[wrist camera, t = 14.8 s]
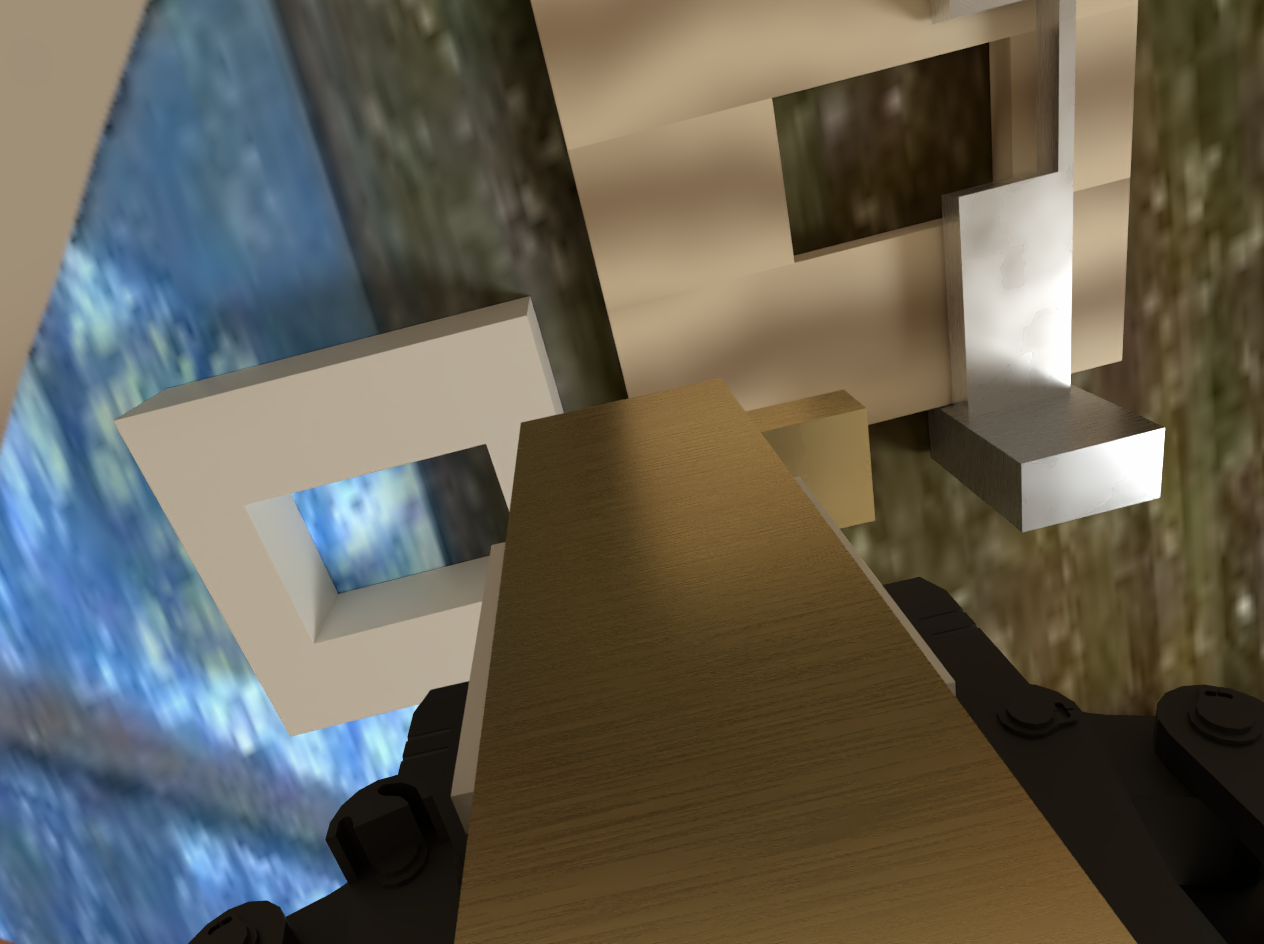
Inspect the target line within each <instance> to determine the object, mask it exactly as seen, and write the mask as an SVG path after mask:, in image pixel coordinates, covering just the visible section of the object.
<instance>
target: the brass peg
mask: <svg viewBox="0 0 1264 944" xmlns="http://www.w3.org/2000/svg"><path fill="white" fill-rule="evenodd" d="M796 476H800V477H801V479H802V480H803V481H804V483H805V484H806V485H807V487H808V488H809V489H810V491H811V492H812V493H813V495H814V496H815V497H816V498H817V500H818V501H819V502H820V504H821V505H822V506H823V508H824V509H825V510H826V512H827V513H828V514H829V516H830V517H831V518H832V520H833V521H834V522H835V524H836V525H837V526H838V528H839V529H840V528H844V527H848V526H853V525H857V524H862V523H866V522H871V521H875V512H874V499H873V486H872V473H871V460H870V447H869V434H868V421H867V408H866V407H864V406H863V405H862V404H861V403H860V402H858V401H857V400H856V399H855V398H854V397H852V396H851V395H850V394H849V393H847V392H846V391H845V390H844V389H843V390H839V391H834V392H830V393H825V394H821V395H816V396H812V397H807V398H803V399H798V400H794V401H790V402H785V403H781V404H776V405H772V406H767V407H763V408H758V409H754V410H749V411H745V410H744V409H743V408H742V406H741V405H740V403H739V402H738V401H737V399H736V398H735V397H734V395H733V394H732V393H731V391H730V390H729V389H728V387H727V386H726V384H725V383H724V382H723V380H722V379H721V378H718V379H713V380H709V381H704V382H700V383H695V384H691V385H686V386H682V387H678V388H673V389H669V390H664V391H660V392H655V393H651V394H646V395H642V396H637V397H633V398H629V399H624V400H620V401H615V402H611V403H606V404H602V405H597V406H593V407H588V408H584V409H579V410H575V411H571V412H566V413H562V414H557V415H553V416H548V417H544V418H539V419H535V420H530V421H526V422H522V423H521V425H520V433H519V441H518V449H517V457H516V464H515V472H514V480H513V488H512V496H511V503H510V511H509V519H508V527H507V535H506V542H505V550H504V558H503V566H502V574H501V581H500V589H499V597H498V605H497V613H496V621H495V628H494V636H493V644H492V652H491V660H490V667H489V675H488V683H487V691H486V699H485V706H484V714H483V722H482V730H481V738H480V745H479V753H478V761H477V769H476V777H475V785H474V792H473V800H472V808H471V816H470V824H469V831H468V839H467V847H466V855H465V863H464V870H463V878H462V886H461V894H460V902H459V909H458V917H457V925H456V933H455V941H454V944H1137V943H1136V941H1135V940H1134V938H1133V937H1132V936H1131V934H1130V933H1129V932H1128V930H1127V929H1126V928H1125V926H1124V925H1123V924H1122V922H1121V921H1120V919H1119V918H1118V917H1117V915H1116V914H1115V913H1114V911H1113V910H1112V909H1111V907H1110V906H1109V905H1108V903H1107V902H1106V900H1105V899H1104V898H1103V896H1102V895H1101V894H1100V892H1099V891H1098V890H1097V888H1096V887H1095V886H1094V884H1093V883H1092V881H1091V880H1090V879H1089V877H1088V876H1087V875H1086V873H1085V872H1084V871H1083V869H1082V868H1081V867H1080V865H1079V864H1078V862H1077V861H1076V860H1075V858H1074V857H1073V856H1072V854H1071V853H1070V852H1069V850H1068V849H1067V847H1066V846H1065V845H1064V843H1063V842H1062V841H1061V839H1060V838H1059V837H1058V835H1057V834H1056V833H1055V831H1054V830H1053V828H1052V827H1051V826H1050V824H1049V823H1048V822H1047V820H1046V819H1045V818H1044V816H1043V815H1042V814H1041V812H1040V811H1039V809H1038V808H1037V807H1036V805H1035V804H1034V803H1033V801H1032V800H1031V799H1030V797H1029V796H1028V795H1027V793H1026V792H1025V790H1024V789H1023V788H1022V786H1021V785H1020V784H1019V782H1018V781H1017V780H1016V778H1015V777H1014V776H1013V774H1012V773H1011V771H1010V770H1009V769H1008V767H1007V766H1006V765H1005V763H1004V762H1003V761H1002V759H1001V758H1000V757H999V755H998V754H997V752H996V751H995V750H994V748H993V747H992V746H991V744H990V743H989V742H988V740H987V739H986V738H985V736H984V735H983V733H982V732H981V731H980V729H979V728H978V727H977V725H976V724H975V723H974V721H973V720H972V718H971V717H970V716H969V714H968V713H967V712H966V710H965V709H964V708H963V706H962V705H961V704H960V702H959V701H958V699H957V698H956V697H955V695H954V694H953V693H952V691H951V690H950V689H949V687H948V686H947V685H946V683H945V682H944V680H943V679H942V678H941V676H940V675H939V674H938V672H937V671H936V670H935V668H934V667H933V666H932V664H931V663H930V661H929V660H928V659H927V657H926V656H925V655H924V653H923V652H922V651H921V649H920V648H919V647H918V645H917V644H916V642H915V641H914V640H913V638H912V637H911V636H910V634H909V633H908V632H907V630H906V629H905V628H904V626H903V625H902V623H901V622H900V621H899V619H898V618H897V617H896V615H895V614H894V613H893V611H892V610H891V609H890V607H889V606H888V604H887V603H886V602H885V600H884V599H883V598H882V596H881V595H880V594H879V592H878V591H877V589H876V588H875V587H874V585H873V584H872V583H871V581H870V580H869V579H868V577H867V576H866V575H865V573H864V572H863V570H862V569H861V568H860V566H859V565H858V564H857V562H856V561H855V560H854V558H853V557H852V556H851V554H850V553H849V551H848V550H847V549H846V547H845V546H844V545H843V543H842V542H841V541H840V539H839V538H838V537H837V535H836V534H835V532H834V531H833V530H832V528H831V527H830V526H829V524H828V523H827V522H826V520H825V519H824V518H823V516H822V515H821V513H820V512H819V511H818V509H817V508H816V507H815V505H814V504H813V503H812V501H811V500H810V499H809V497H808V496H807V494H806V493H805V492H804V490H803V489H802V488H801V486H800V485H799V484H798V482H797V481H796V480H795V478H794V477H796Z"/></svg>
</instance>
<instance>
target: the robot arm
mask: <svg viewBox="0 0 1264 944" xmlns="http://www.w3.org/2000/svg"><path fill="white" fill-rule="evenodd" d="M794 478H795V480H796V481H797V482H798V484H799V485H800V486H801V488H802V489H803V490H804V492H805V493H806V494H807V496H808V497H809V499H810V500H811V501H812V503H813V504H814V505H815V507H816V508H817V509H818V511H819V512H820V513H821V515H822V516H823V518H824V519H825V520H826V522H827V523H828V524H829V526H830V527H831V528H832V530H833V531H834V532H835V534H836V535H837V537H838V538H839V539H840V541H841V542H842V543H843V545H844V546H845V547H846V549H847V550H848V551H849V553H850V554H851V556H852V557H853V558H854V560H855V561H856V562H857V564H858V565H859V566H860V568H861V569H862V570H863V572H864V573H865V575H866V576H867V577H868V579H869V580H870V581H871V583H872V584H873V585H874V587H875V588H876V589H877V591H878V592H879V594H880V595H881V596H882V598H883V599H884V600H885V602H886V603H887V604H888V606H889V607H890V609H891V610H892V611H893V613H894V614H895V615H896V617H897V618H898V619H899V621H900V622H901V623H902V625H903V626H904V628H905V629H906V630H907V632H908V633H909V634H910V636H911V637H912V638H913V640H914V641H915V642H916V644H917V645H918V647H919V648H920V649H921V651H922V652H923V653H924V655H925V656H926V657H927V659H928V660H929V661H930V663H931V664H932V666H933V667H934V668H935V670H936V671H937V672H938V674H939V675H940V676H941V678H942V679H943V680H944V682H945V683H946V685H947V686H948V687H949V689H950V690H951V691H952V693H953V694H954V695H955V697H956V698H957V699H958V701H959V702H960V704H961V705H962V706H963V708H964V709H965V710H966V712H967V713H968V714H969V716H970V717H971V718H972V720H973V721H974V723H975V724H976V725H977V727H978V728H979V729H980V731H981V732H982V733H983V735H984V736H985V738H986V739H987V740H988V742H989V743H990V744H991V746H992V747H993V748H994V750H995V751H996V752H997V754H998V755H999V757H1000V758H1001V759H1002V761H1003V762H1004V763H1005V765H1006V766H1007V767H1008V769H1009V770H1010V771H1011V773H1012V774H1013V776H1014V777H1015V778H1016V780H1017V781H1018V782H1019V784H1020V785H1021V786H1022V788H1023V789H1024V790H1025V792H1026V793H1027V795H1028V796H1029V797H1030V799H1031V800H1032V801H1033V803H1034V804H1035V805H1036V807H1037V808H1038V809H1039V811H1040V812H1041V814H1042V815H1043V816H1044V818H1045V819H1046V820H1047V822H1048V823H1049V824H1050V826H1051V827H1052V828H1053V830H1054V831H1055V833H1056V834H1057V835H1058V837H1059V838H1060V839H1061V841H1062V842H1063V843H1064V845H1065V846H1066V847H1067V849H1068V850H1069V852H1070V853H1071V854H1072V856H1073V857H1074V858H1075V860H1076V861H1077V862H1078V864H1079V865H1080V867H1081V868H1082V869H1083V871H1084V872H1085V873H1086V875H1087V876H1088V877H1089V879H1090V880H1091V881H1092V883H1093V884H1094V886H1095V887H1096V888H1097V890H1098V891H1099V892H1100V894H1101V895H1102V896H1103V898H1104V899H1105V900H1106V902H1107V903H1108V905H1109V906H1110V907H1111V909H1112V910H1113V911H1114V913H1115V914H1116V915H1117V917H1118V918H1119V919H1120V921H1121V922H1122V924H1123V925H1124V926H1125V928H1126V929H1127V930H1128V932H1129V933H1130V934H1131V936H1132V937H1133V938H1134V940H1135V941H1136V943H1137V944H1264V703H1263V702H1262V701H1260V700H1258V699H1257V698H1255V697H1252V696H1249V695H1247V694H1244V693H1241V692H1238V691H1235V690H1232V689H1229V688H1223V687H1216V686H1209V685H1193V686H1181V687H1179V688H1177V689H1174V690H1172V691H1169V692H1167V693H1165V694H1164V696H1163V697H1162V698H1161V700H1160V701H1159V702H1158V704H1157V710H1156V716H1126V715H1102V714H1092V713H1086V712H1082V711H1081V710H1080V708H1079V707H1078V706H1077V705H1076V704H1075V702H1073V701H1071V700H1070V699H1068V698H1067V697H1065V696H1063V695H1062V694H1060V693H1058V692H1057V691H1054V690H1050V689H1047V688H1044V687H1041V686H1038V685H1031V684H1029V683H1028V682H1027V681H1026V680H1025V678H1024V677H1023V676H1022V675H1021V674H1020V673H1019V672H1018V671H1017V669H1016V668H1015V667H1014V666H1013V665H1012V664H1011V663H1010V662H1009V661H1008V659H1007V658H1006V657H1005V656H1004V655H1003V654H1002V653H1001V652H1000V650H999V649H998V648H997V647H996V646H995V645H994V644H993V643H992V641H991V640H990V639H989V638H988V637H987V636H986V635H985V634H984V633H983V631H982V630H981V629H980V628H977V626H976V624H975V622H974V621H973V620H972V619H971V618H970V617H969V616H968V615H967V614H966V613H963V610H962V608H961V607H960V606H959V605H958V603H957V602H956V601H955V600H954V599H953V598H952V597H951V596H950V594H949V593H948V592H947V591H946V590H944V589H942V588H940V587H938V586H936V585H934V584H933V583H931V582H929V581H927V580H925V579H923V578H921V577H917V578H913V579H908V580H904V581H899V582H895V583H891V584H886V585H882V584H881V583H880V582H879V580H878V579H877V578H876V576H875V575H874V574H873V572H872V571H871V570H870V569H869V567H868V566H867V565H866V563H865V562H864V561H863V559H862V558H861V557H860V555H859V554H858V553H857V551H856V550H855V549H854V547H853V546H852V545H851V543H850V542H849V541H848V539H847V538H846V537H845V535H844V534H843V533H842V532H841V530H840V529H839V528H838V526H837V525H836V524H835V522H834V521H833V520H832V518H831V517H830V516H829V514H828V513H827V512H826V510H825V509H824V508H823V506H822V505H821V504H820V502H819V501H818V500H817V498H816V497H815V496H814V495H813V493H812V492H811V491H810V489H809V488H808V487H807V485H806V484H805V483H804V481H803V480H802V479H801V477H800V476H796V477H794ZM504 550H505V542H503V543H499V544H494V545H491V551H490V557H489V563H488V569H487V575H486V582H485V588H484V594H483V600H482V606H481V612H480V618H479V625H478V631H477V637H476V643H475V649H474V655H473V662H472V668H471V674H470V680H469V681H467V682H462V683H458V684H454V685H449V686H445V687H440V688H436V689H432V690H430V691H429V692H428V694H427V695H426V697H425V698H424V699H423V701H422V702H421V703H420V705H419V706H418V708H417V709H416V710H415V712H414V713H413V717H412V721H411V725H410V729H409V733H408V741H407V742H406V745H405V749H404V753H403V761H402V762H401V764H400V768H399V772H398V775H395V776H392V777H388V778H384V779H381V780H377V781H375V782H374V783H372V784H370V785H368V786H366V787H365V788H363V789H361V790H359V791H358V792H357V793H355V794H354V795H353V796H352V797H351V798H350V799H349V800H348V801H346V802H345V803H344V804H343V805H342V806H341V807H340V809H339V810H338V812H337V813H336V815H335V816H334V818H333V819H332V821H331V822H330V825H329V828H328V832H327V836H326V839H325V840H326V842H327V844H328V846H329V847H330V849H331V851H332V853H333V855H334V857H335V859H336V861H337V863H338V865H339V867H340V868H341V870H342V872H343V874H344V876H345V878H346V880H347V883H346V884H345V885H344V886H342V887H341V888H339V889H337V890H336V891H334V892H332V893H331V894H329V895H327V896H325V897H324V898H322V899H320V900H318V901H316V902H314V903H312V904H310V905H308V906H306V907H304V908H302V909H300V910H298V911H296V912H294V913H292V914H291V915H289V916H287V917H285V915H284V913H283V912H282V910H281V908H280V907H279V906H277V905H275V904H273V903H271V902H269V901H252V902H247V903H244V904H242V905H239V906H237V907H234V908H232V909H229V910H227V911H226V912H224V913H223V914H221V915H220V916H218V917H217V918H216V919H214V920H213V921H211V922H210V923H208V924H207V925H206V926H205V927H204V928H203V929H202V930H201V931H200V932H199V933H198V934H197V935H196V936H195V937H194V938H193V939H192V940H191V941H190V942H189V943H188V944H454V941H455V933H456V925H457V917H458V909H459V902H460V894H461V886H462V878H463V870H464V863H465V855H466V847H467V839H468V831H469V824H470V816H471V808H472V800H473V792H474V785H475V777H476V769H477V761H478V753H479V745H480V738H481V730H482V722H483V714H484V706H485V699H486V691H487V683H488V675H489V667H490V660H491V652H492V644H493V636H494V628H495V621H496V613H497V605H498V597H499V589H500V581H501V574H502V566H503V558H504Z"/></svg>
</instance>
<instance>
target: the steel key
mask: <svg viewBox="0 0 1264 944" xmlns="http://www.w3.org/2000/svg"><path fill="white" fill-rule="evenodd" d="M1023 1H1026V0H931V17H932V25H933V24H937V23H941V22H945V21H949V20H952V19H956V18H960V17H964V16H968V15H972V14H976V13H980V12H984V11H987V10H991V9H995V8H999V7H1003V6H1007V5H1011V4H1015V3H1019V2H1023ZM1075 48H1076V0H1036V154H1037V171H1034V172H1030V173H1026V174H1022V175H1018V176H1014V177H1010V178H1006V179H1002V180H998V181H995V182H991V183H987V184H983V185H979V186H975V187H971V188H967V189H963V190H959V191H955V192H951V193H948V194H944V195H941V199H942V217H943V235H944V254H945V272H946V290H947V308H948V326H949V345H950V363H951V381H952V399H953V404H949V405H945V406H941V407H937V408H933V409H929V410H928V424H929V438H930V452H931V458H932V459H934V460H935V461H936V462H937V463H938V464H940V465H941V466H942V467H943V468H944V469H946V470H947V471H948V472H949V473H951V474H952V475H953V476H954V477H955V478H957V479H958V480H959V481H960V482H962V483H963V484H964V485H965V486H966V487H968V488H969V489H970V490H971V491H973V492H974V493H975V494H976V495H977V496H979V497H980V498H981V499H982V500H983V501H985V502H986V503H987V504H988V505H990V506H991V507H992V508H993V509H994V510H996V511H997V512H998V513H999V514H1001V515H1002V516H1003V517H1004V518H1005V519H1007V520H1008V521H1009V522H1010V523H1012V524H1013V525H1014V526H1015V527H1016V528H1018V529H1019V530H1020V531H1021V532H1026V531H1030V530H1034V529H1038V528H1042V527H1046V526H1050V525H1054V524H1058V523H1062V522H1066V521H1070V520H1073V519H1077V518H1081V517H1085V516H1089V515H1093V514H1097V513H1101V512H1105V511H1109V510H1113V509H1117V508H1121V507H1125V506H1129V505H1133V504H1137V503H1141V502H1145V501H1149V500H1153V499H1157V498H1160V491H1161V477H1162V464H1163V450H1164V436H1165V427H1163V426H1161V425H1159V424H1156V423H1154V422H1152V421H1150V420H1148V419H1145V418H1143V417H1141V416H1139V415H1137V414H1134V413H1132V412H1130V411H1128V410H1126V409H1124V408H1121V407H1119V406H1117V405H1115V404H1113V403H1110V402H1108V401H1106V400H1104V399H1102V398H1099V397H1097V396H1095V395H1093V394H1091V393H1088V392H1086V391H1084V390H1082V389H1080V388H1078V387H1075V386H1073V385H1071V384H1070V380H1071V314H1072V247H1073V181H1074V114H1075Z"/></svg>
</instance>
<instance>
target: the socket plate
mask: <svg viewBox="0 0 1264 944" xmlns="http://www.w3.org/2000/svg"><path fill="white" fill-rule="evenodd" d="M530 2H531V6H532V10H533V14H534V18H535V22H536V26H537V30H538V34H539V38H540V42H541V47H542V51H543V55H544V59H545V63H546V67H547V71H548V75H549V79H550V83H551V87H552V91H553V95H554V99H555V103H556V107H557V111H558V115H559V119H560V123H561V127H562V131H563V135H564V139H565V143H566V148H567V152H568V156H569V160H570V164H571V168H572V172H573V176H574V180H575V184H576V188H577V192H578V196H579V200H580V204H581V208H582V212H583V216H584V220H585V224H586V228H587V232H588V236H589V240H590V244H591V249H592V253H593V257H594V261H595V265H596V269H597V273H598V277H599V281H600V285H601V289H602V293H603V297H604V301H605V305H606V309H607V313H608V317H609V321H610V325H611V329H612V333H613V337H614V341H615V346H616V350H617V354H618V358H619V362H620V366H621V370H622V374H623V378H624V382H625V386H626V390H627V394H628V398H633V397H637V396H642V395H646V394H651V393H655V392H660V391H664V390H669V389H673V388H678V387H682V386H686V385H691V384H695V383H700V382H704V381H709V380H713V379H718V378H721V379H722V380H723V382H724V383H725V384H726V386H727V387H728V389H729V390H730V391H731V393H732V394H733V395H734V397H735V398H736V399H737V401H738V402H739V403H740V405H741V406H742V408H743V409H744V410H745V411H749V410H754V409H758V408H763V407H767V406H772V405H776V404H781V403H785V402H790V401H794V400H798V399H803V398H807V397H812V396H816V395H821V394H825V393H830V392H834V391H839V390H843V389H844V390H845V391H846V392H847V393H849V394H850V395H851V396H852V397H854V398H855V399H856V400H857V401H858V402H860V403H861V404H862V405H863V406H864V407H866V408H867V421H868V425H870V424H874V423H878V422H882V421H886V420H890V419H894V418H897V417H901V416H905V415H909V414H913V413H917V412H921V411H925V410H929V409H933V408H937V407H941V406H945V405H949V404H953V399H952V381H951V363H950V345H949V326H948V308H947V290H946V272H945V254H944V235H943V218H940V219H936V220H932V221H928V222H924V223H920V224H916V225H912V226H908V227H904V228H900V229H897V230H893V231H889V232H885V233H881V234H877V235H873V236H869V237H865V238H861V239H857V240H853V241H849V242H846V243H842V244H838V245H834V246H830V247H826V248H822V249H818V250H814V251H810V252H806V253H802V254H799V255H795V256H794V255H793V248H792V241H791V233H790V226H789V219H788V211H787V204H786V197H785V190H784V182H783V175H782V168H781V161H780V153H779V146H778V139H777V132H776V124H775V117H774V110H773V103H772V98H773V97H777V96H781V95H785V94H789V93H793V92H797V91H801V90H805V89H809V88H812V87H816V86H820V85H824V84H828V83H832V82H836V81H840V80H844V79H848V78H851V77H855V76H859V75H863V74H867V73H871V72H875V71H879V70H883V69H886V68H890V67H894V66H898V65H902V64H906V63H910V62H914V61H918V60H922V59H925V58H929V57H933V56H937V55H941V54H945V53H949V52H953V51H957V50H961V49H964V48H968V47H972V46H976V45H980V44H984V43H988V42H989V59H990V95H991V132H992V168H993V182H995V181H998V180H1002V179H1006V178H1010V177H1014V176H1018V175H1022V174H1026V173H1030V172H1034V171H1037V154H1036V0H1026V1H1023V2H1019V3H1015V4H1011V5H1007V6H1003V7H999V8H995V9H991V10H987V11H984V12H980V13H976V14H972V15H968V16H964V17H960V18H956V19H952V20H949V21H945V22H941V23H937V24H933V25H932V17H931V0H530ZM1137 13H1138V0H1076V48H1075V114H1074V181H1073V247H1072V314H1071V373H1075V372H1079V371H1083V370H1087V369H1091V368H1095V367H1099V366H1102V365H1106V364H1110V363H1114V362H1118V361H1122V348H1123V325H1124V303H1125V281H1126V258H1127V236H1128V214H1129V191H1130V169H1131V147H1132V124H1133V102H1134V80H1135V57H1136V35H1137Z"/></svg>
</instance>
